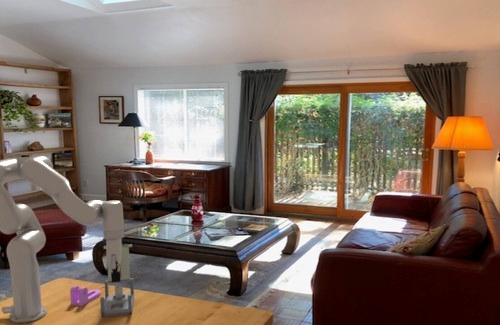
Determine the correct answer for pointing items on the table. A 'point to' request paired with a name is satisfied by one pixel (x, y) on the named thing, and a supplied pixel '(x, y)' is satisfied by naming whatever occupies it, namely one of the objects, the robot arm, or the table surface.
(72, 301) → the bracket
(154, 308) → the table surface
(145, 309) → the table surface
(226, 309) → the table surface
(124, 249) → the lid
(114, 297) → the housing
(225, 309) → the table surface
